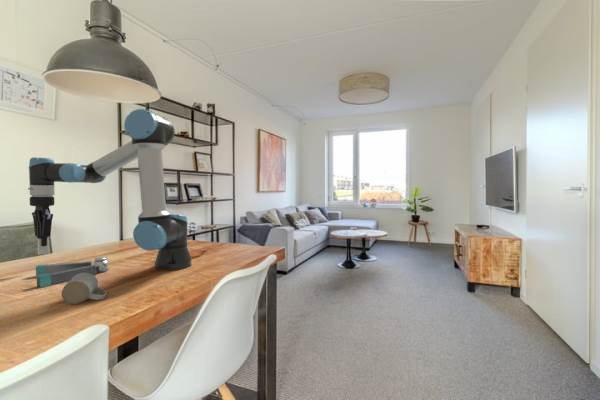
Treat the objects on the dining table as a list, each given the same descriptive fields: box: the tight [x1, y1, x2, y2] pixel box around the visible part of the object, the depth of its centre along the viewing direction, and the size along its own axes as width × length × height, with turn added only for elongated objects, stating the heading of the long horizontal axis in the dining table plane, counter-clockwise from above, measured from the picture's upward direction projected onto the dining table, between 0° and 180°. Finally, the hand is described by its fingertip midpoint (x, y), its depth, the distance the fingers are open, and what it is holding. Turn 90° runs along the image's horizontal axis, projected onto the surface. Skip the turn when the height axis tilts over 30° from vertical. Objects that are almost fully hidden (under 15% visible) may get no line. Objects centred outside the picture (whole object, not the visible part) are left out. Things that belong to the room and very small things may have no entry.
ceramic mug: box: [61, 273, 107, 305], centre depth 90 cm, size 11×8×8 cm
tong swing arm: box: [35, 256, 107, 277], centre depth 117 cm, size 23×6×5 cm, turn 116°
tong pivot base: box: [36, 258, 109, 289], centre depth 112 cm, size 24×6×4 cm, turn 151°
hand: (42, 253), depth 119 cm, fingers closed
